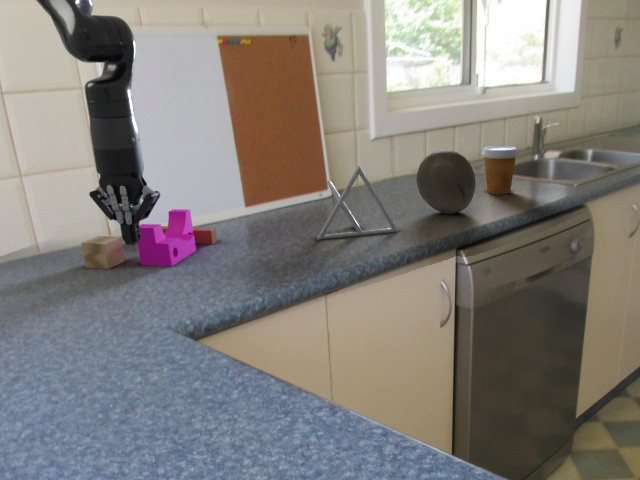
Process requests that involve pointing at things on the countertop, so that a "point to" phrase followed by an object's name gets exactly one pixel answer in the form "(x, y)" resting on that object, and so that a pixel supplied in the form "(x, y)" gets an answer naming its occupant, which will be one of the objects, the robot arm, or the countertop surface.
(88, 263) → the beech cube
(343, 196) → the wire frame
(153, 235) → the toy block
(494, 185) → the disposable coffee cup
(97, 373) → the countertop surface
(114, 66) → the robot arm
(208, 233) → the rail
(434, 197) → the dark grey ball
